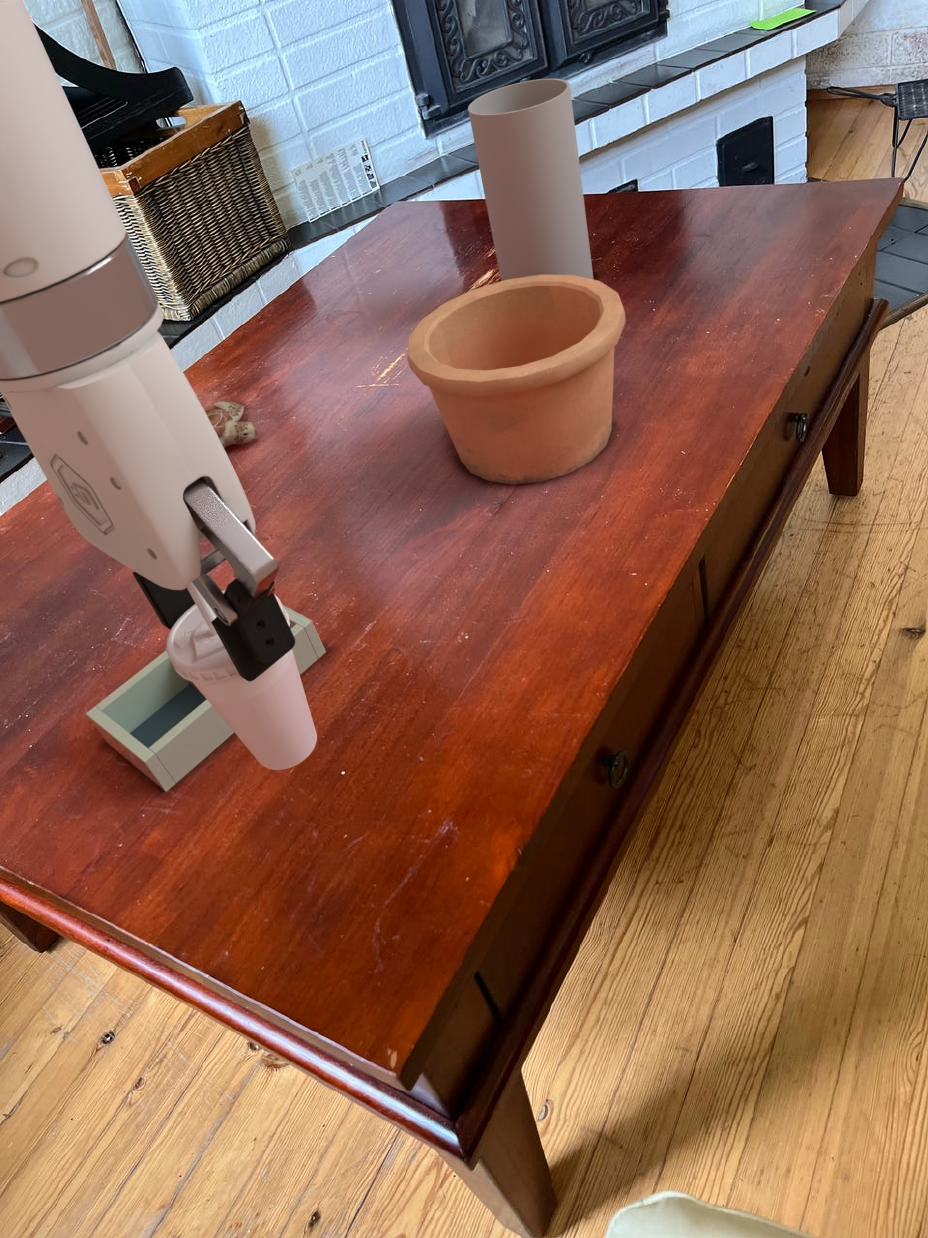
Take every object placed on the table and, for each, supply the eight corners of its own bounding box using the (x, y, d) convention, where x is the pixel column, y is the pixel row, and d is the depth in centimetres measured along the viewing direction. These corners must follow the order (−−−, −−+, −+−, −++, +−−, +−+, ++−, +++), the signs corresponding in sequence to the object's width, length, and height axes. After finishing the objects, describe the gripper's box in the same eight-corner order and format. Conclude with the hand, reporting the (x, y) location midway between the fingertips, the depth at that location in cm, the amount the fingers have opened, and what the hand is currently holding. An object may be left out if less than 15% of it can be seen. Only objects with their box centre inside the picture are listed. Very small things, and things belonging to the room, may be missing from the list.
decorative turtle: (235, 488, 107) (218, 452, 104) (115, 495, 112) (95, 461, 109) (286, 405, 120) (272, 371, 116) (176, 415, 124) (160, 382, 121)
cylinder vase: (487, 301, 130) (448, 110, 113) (554, 265, 134) (525, 75, 117) (543, 322, 121) (510, 118, 104) (613, 283, 125) (591, 81, 108)
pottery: (491, 386, 112) (467, 272, 102) (665, 399, 101) (656, 274, 92) (402, 491, 99) (365, 372, 90) (590, 518, 89) (570, 387, 79)
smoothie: (213, 777, 53) (99, 598, 43) (270, 695, 57) (177, 516, 47) (305, 800, 50) (205, 614, 41) (358, 712, 54) (278, 526, 45)
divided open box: (170, 798, 74) (144, 762, 71) (111, 749, 80) (85, 713, 76) (329, 658, 82) (312, 620, 79) (265, 622, 88) (247, 585, 85)
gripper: (-111, 321, 39) (89, 622, 51) (78, 402, 29) (274, 757, 41) (41, 248, 43) (195, 546, 54) (259, 297, 32) (391, 652, 44)
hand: (228, 634), depth 47 cm, fingers closed on smoothie, 6 cm apart
